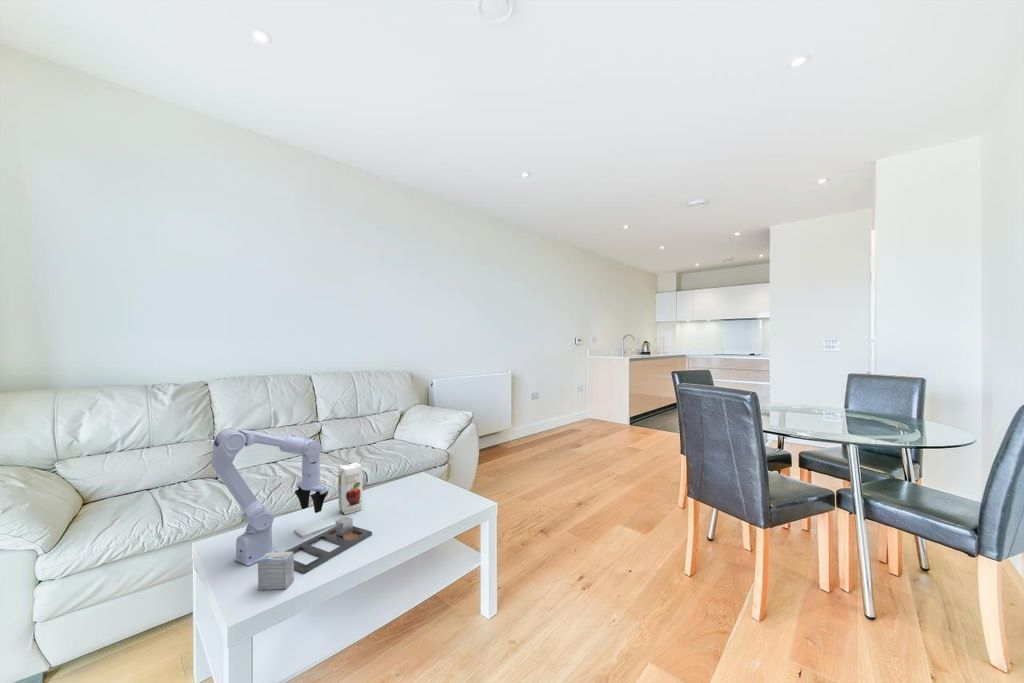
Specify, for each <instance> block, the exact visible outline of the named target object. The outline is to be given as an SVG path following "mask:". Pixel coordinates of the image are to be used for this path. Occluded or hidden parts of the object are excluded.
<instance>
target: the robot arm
mask: <svg viewBox="0 0 1024 683" xmlns="http://www.w3.org/2000/svg"><path fill="white" fill-rule="evenodd" d="M254 444H260V445H266V446H271V447H277V448H278V449H279V451H280V452H283V453H289V454H295V455H301V467H302V468H301V481H298V482H296V489H297V490H295V491H294V494H295V495H296V497H297V498H298V501H299V503H300V507H301V510H305V509H307V508H309V504H310V498H311V500H312V503H313V511H314V514H317V513H320V512H322V509H323V506H324V502H325V499H326V497H327V495H328V494H329V491H328V490H327V487H326V486H324V485H323V481H321V480H320V479H321V477H320V476H321V472H320V470H321V468H320V467H321V466H320V465H321V464H320V463H321V460H320V459H321V458H320V455H321V453H322V452H323V447H322V445H321V443H320V442H318V441H316V440H315V439H311V438H309V437H305V438H303V437H300V436H297V434H295V433H294V434H293V433H291V434H286V435H284V436H282V437H280V436H277V435H273V434H268V433H264V432H259V431H255V430H250V429H249V430H248V429H243V428H239V429H235V428H232V427H227V428H224V429H222V430H220V431H219V432H218V433H217V435H216V436H215V438H214V440H213V441H212V453H211V462H210V465H211V467H212V468H213V470H214V472H215V473H216V474H217V476H218V477H219V478H220V480H221V481H222V483H223V485H225V487H226V488H227V489H228V491H229V493H230V494H231V495H232V497H233V498H234V500H235V501H236V502H237V504H238V505H239V507H240V509H241V510H242V512H243V515H244V517H243V519H244V521H245V523H247V525H246V528H245V531H244V533H242V534H240V535H238V536H237V538H236V541H235V558H234V561H236V562H238V563H240V564H242V565H245V566H247V567H248V566H252V565H253V564H256V563H258V561H259V560H260V559H261V558H262V557H263V556H264V555H265V554H267V553H272V552H279V550H278V549H277V548H274V547H273V527H272V526H273V522H274V518H275V517H274V514H273V513H272V511H269V510H268V509H267V508H266V507H265V505H263V504H261V503H260V501H259V500H258V498H257V497H256V495H255V494H254V493H253V491H252V489H251V488H250V487H249V485H248V484H247V482H246V481H245V480H244V478H243V476H242V475H241V473H240V472H239V471H238V469H237V468H236V466H235V465H234V463H233V462H234V460H235V458H236V456H237V455H238V453H240V451H242V449H243V448H244V447H251V446H252V445H254ZM311 491H312V492H314V493H312V494H311Z"/></svg>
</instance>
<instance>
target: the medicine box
mask: <svg viewBox="0 0 1024 683" xmlns="http://www.w3.org/2000/svg"><path fill="white" fill-rule="evenodd" d="M294 560H295V558H294V554H293V552H285V551H278V552H272V553H267V554H265V555H264V556H263V557H262V558H261V559H260V560H259V561H258V562H257V574H258V575H257V578H258V579H257V581H258V582H257V586H258V591H270V590H271V591H272V590H286V589H288V588H289V586H290V585H292V583H293V582H294V581H295V570H294Z"/></svg>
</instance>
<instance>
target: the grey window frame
mask: <svg viewBox="0 0 1024 683" xmlns="http://www.w3.org/2000/svg"><path fill="white" fill-rule="evenodd" d="M372 535H373V531H372V530H367V529H364V528H361V527H358V526H354V525H353V535H352V536H350V537H349V538H347V539H343V538H340V537H337V536H336V526H335V527H332V528H329V529H327V530H324V531H322V532H320V533H318V534H317V535H316V536H313V537H311V538H309V539H308V540H305V541H303V542H301V543H299V544H297V545H296V546H293V547H292V548H289V549H287V550H285V551H284V552H293V555H294V554H296V553H298V552H300V551H302V552H304V553H307V554H310V555H311V556H315V557H318V558H316V559H314V560H313V561H311V562H308V563H307V564H305V563H303V562H299V561H297V560H295V559H294V571H296V572H298V573H300V574H304V575H305V574H306V573H308V572H309V571H312V570H314V569H316V568H317V567H319V566H320V565H322V564H324V563H326V562H327V561H329V560H331V559H332V558H335V557H336V556H339V555H340V554H341V553H343V552H345V551H347V550H348V549H350V548H351V547H353V546H356V545H357V544H359V543H360V542H362V541H364V540H365V539H367V538H369V537H370V536H372ZM322 540H323V541H326V542H329V543H332V544H335V545H338V546H337V547H336V548H334V549H332V550H331V551H328V550H324V549H323V548H319V547H317V546H313V544H316V543H317V542H320V541H322Z"/></svg>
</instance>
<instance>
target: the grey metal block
mask: <svg viewBox="0 0 1024 683" xmlns="http://www.w3.org/2000/svg"><path fill="white" fill-rule="evenodd" d="M335 522H336V536H337V537H340V538H343V539H347V538H349V537H350V536H352V535H353V526H354V525H353V522H354V520H353V518H352V517H347V516H343V517H342V518H340V519H337V520H335Z"/></svg>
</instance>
